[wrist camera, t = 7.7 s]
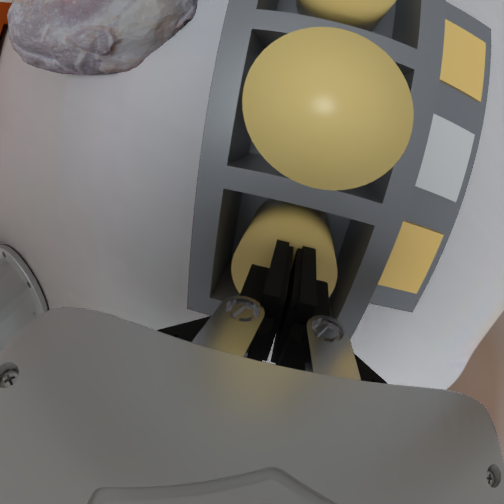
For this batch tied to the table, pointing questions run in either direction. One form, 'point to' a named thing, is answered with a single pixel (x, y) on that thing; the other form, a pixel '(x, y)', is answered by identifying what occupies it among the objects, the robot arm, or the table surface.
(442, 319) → the table surface
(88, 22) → the stone
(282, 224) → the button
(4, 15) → the tape dispenser
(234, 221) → the grey compartment tray
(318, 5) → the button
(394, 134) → the button mid
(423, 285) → the strip
